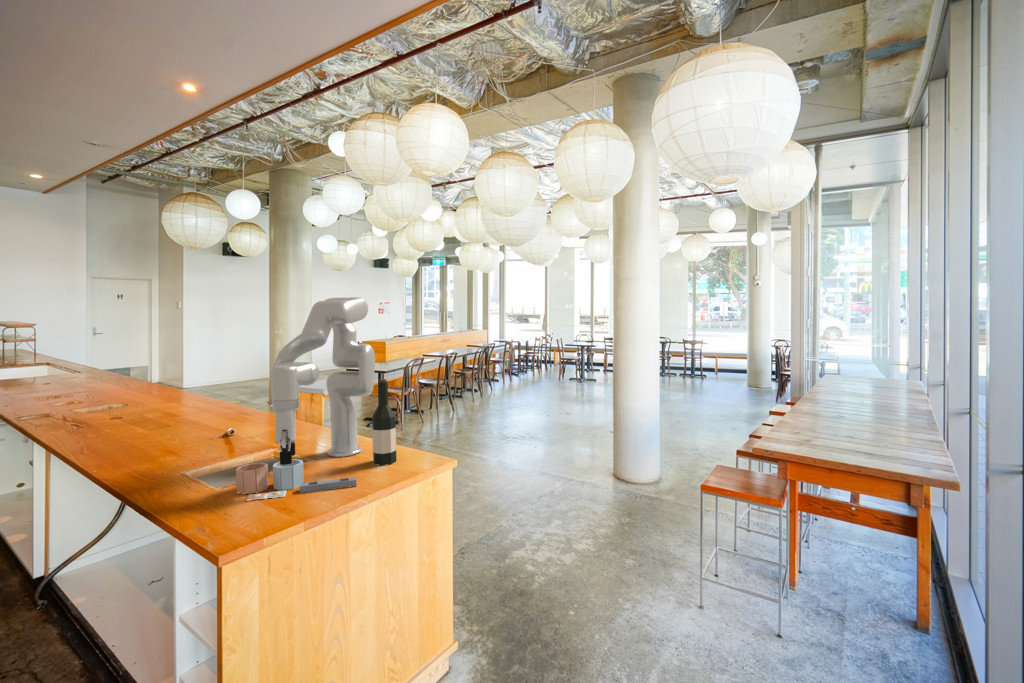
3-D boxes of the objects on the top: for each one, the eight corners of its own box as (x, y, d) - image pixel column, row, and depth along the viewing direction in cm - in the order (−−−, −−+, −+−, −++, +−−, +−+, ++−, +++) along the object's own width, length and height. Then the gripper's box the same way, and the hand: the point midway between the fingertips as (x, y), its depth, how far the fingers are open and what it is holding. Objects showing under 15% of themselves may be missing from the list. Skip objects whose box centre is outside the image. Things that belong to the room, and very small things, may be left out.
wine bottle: (368, 462, 168) (366, 379, 167) (388, 457, 175) (386, 377, 173) (380, 467, 163) (378, 381, 161) (401, 461, 169) (399, 379, 167)
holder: (301, 489, 142) (300, 483, 142) (356, 483, 147) (356, 476, 147) (300, 493, 139) (299, 486, 139) (356, 486, 144) (356, 479, 144)
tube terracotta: (240, 486, 145) (239, 464, 145) (270, 483, 148) (269, 461, 147) (234, 496, 137) (233, 472, 137) (265, 492, 140) (264, 469, 140)
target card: (249, 496, 137) (248, 493, 137) (286, 491, 140) (286, 489, 140) (245, 501, 133) (245, 499, 133) (284, 497, 136) (284, 494, 136)
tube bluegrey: (276, 482, 148) (275, 461, 148) (304, 479, 151) (303, 458, 151) (272, 491, 141) (271, 468, 140) (301, 488, 143) (301, 465, 143)
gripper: (276, 401, 151) (278, 453, 152) (267, 410, 135) (269, 469, 136) (301, 399, 154) (303, 451, 155) (296, 409, 138) (298, 466, 138)
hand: (287, 459), depth 145 cm, fingers open, 8 cm apart
